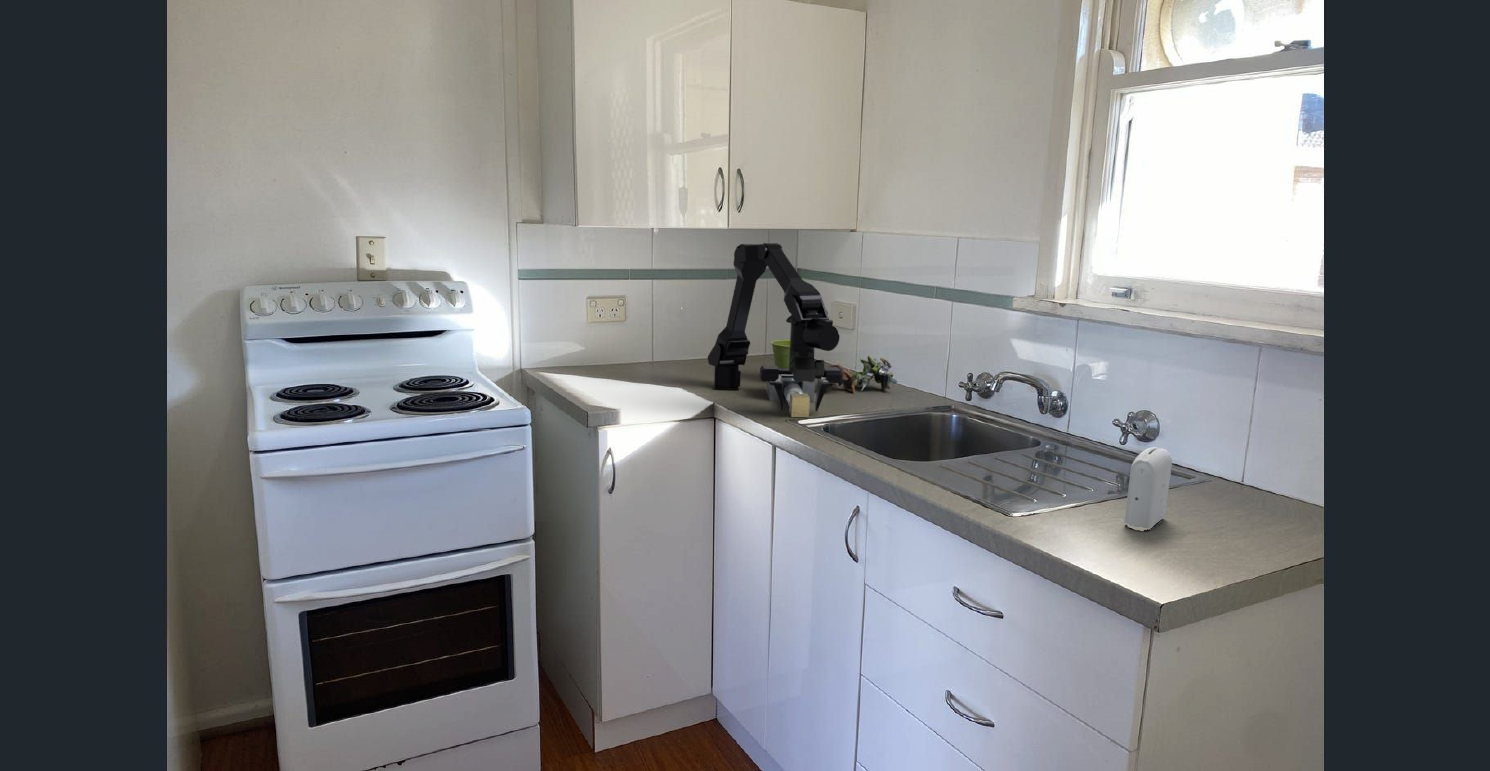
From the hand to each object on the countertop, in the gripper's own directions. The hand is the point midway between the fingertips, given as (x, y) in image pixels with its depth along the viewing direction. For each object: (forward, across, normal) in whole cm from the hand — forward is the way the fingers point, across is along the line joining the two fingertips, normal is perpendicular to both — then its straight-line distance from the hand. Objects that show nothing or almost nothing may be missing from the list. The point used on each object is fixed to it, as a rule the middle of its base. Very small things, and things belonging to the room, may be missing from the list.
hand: (799, 410), depth 213 cm
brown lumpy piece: (+2, +13, +30) cm, 32 cm away
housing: (+1, 0, +21) cm, 21 cm away
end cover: (+1, 0, +6) cm, 6 cm away
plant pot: (+2, +2, +38) cm, 39 cm away
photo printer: (+1, +48, -70) cm, 85 cm away
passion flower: (+2, +23, +31) cm, 38 cm away
